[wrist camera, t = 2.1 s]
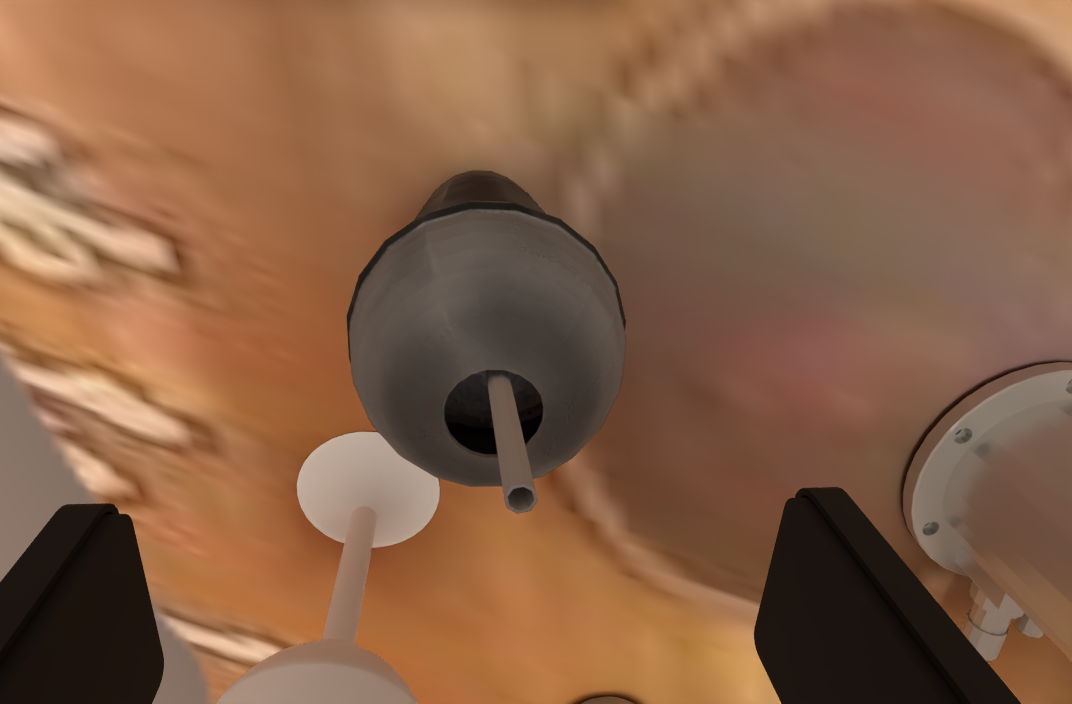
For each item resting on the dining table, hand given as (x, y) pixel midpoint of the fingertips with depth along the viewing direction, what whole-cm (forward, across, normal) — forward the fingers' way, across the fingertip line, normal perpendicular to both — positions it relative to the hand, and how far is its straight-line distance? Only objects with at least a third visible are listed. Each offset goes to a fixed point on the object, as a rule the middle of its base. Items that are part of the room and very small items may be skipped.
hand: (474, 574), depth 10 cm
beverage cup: (+21, -1, 0) cm, 21 cm away
